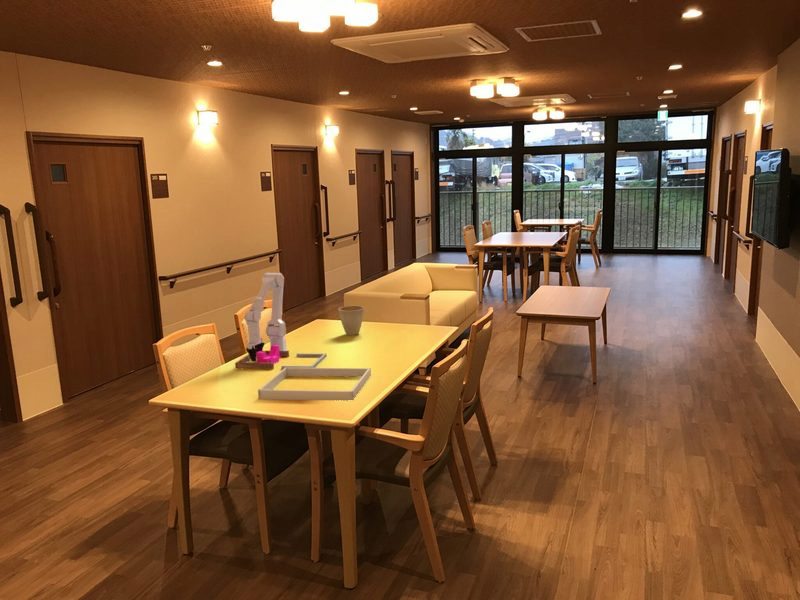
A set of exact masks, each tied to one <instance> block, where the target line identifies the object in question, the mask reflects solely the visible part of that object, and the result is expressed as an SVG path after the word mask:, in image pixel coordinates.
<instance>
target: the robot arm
mask: <svg viewBox="0 0 800 600" xmlns="http://www.w3.org/2000/svg"><path fill="white" fill-rule="evenodd" d="M261 283H262V284H261V287H260V290H259V292H258V295H257V297H255V298H254V299H253V300H252V303H251V306H250V307H249V309H248V311H246V312H245V313H244V317H243V319H244V320H245V322H246V323H245V324H246V325H247V333H248V341H247V342H246V343H247V347H246V348H245V350H246V352H247V355H248V354H249V356H250V358H251V360H250V361H251V362H257V357H256V352H259V351H264V350H263V349H264V346H265V342H263V337H262V338H261V331H260V320H261V318H262V310H263V308H264V305H265V303H266V302H265V298H266V297H267V295H268V293H269V291H270V289H271V290H272V302H271V303H272V305H271V306H272V307H271V318H270V320H269V321H268V322H267V325H266V329H265V333H266V335H267V337H268V338H269V345H270V347H271V345H279V351H289V349H287V341H286V340H287V339H286V337H285V336H286V334H287V329H286V323H285V321H284V320H282V315H283V314H282V313H283V297H284V287H285V277H284V275H283V274H282V272H265V273H263V276H262V278H261Z"/></svg>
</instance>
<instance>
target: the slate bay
mask: <svg viewBox="0 0 800 600" xmlns="http://www.w3.org/2000/svg"><path fill="white" fill-rule="evenodd" d="M295 356H296V358H317V360H316V361H315V362H314V363H312V364H311V365H281V366H280V367H281V368H280V369H281V370H283V369H284V368H285V367H286V368H317V366H318V365H319V364H320V363H321V362H322V361H323V360H324V359H325V358H327V356H328V355H327V353H304V352H303V353H296V355H295Z"/></svg>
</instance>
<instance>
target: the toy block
mask: <svg viewBox="0 0 800 600" xmlns="http://www.w3.org/2000/svg"><path fill="white" fill-rule="evenodd" d="M265 351H266V350H262V351H259V352H256V355H257V357H256V363H273V364H274V363H275V364H277V363H279V362H280V359H281V358H280V354H279V345H271V346H270V349H269V351H270V352H269V354H268V356H267V355H266V352H265ZM279 358H280V359H279ZM278 361H279V362H278ZM276 362H277V363H276ZM275 364H274V365H275Z"/></svg>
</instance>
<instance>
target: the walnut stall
mask: <svg viewBox="0 0 800 600" xmlns="http://www.w3.org/2000/svg"><path fill="white" fill-rule="evenodd" d="M264 351H265V352H266V355H267V356H268V354H269V352H270V350H264ZM279 354H280V356H289V357H290V350H288V351H279ZM256 356H257V355H256ZM250 359H251V358H250V356H249V354H248V353H247V354H246V355H245V356H243V357H242V358H241V359H238V360H237V361H236V362H235V363H234V365H235V369H236V368H243V369H242V370H274V369H275V368H274V366H275V364H273V363H257V362H249V361H251V360H250ZM247 361H248V362H247ZM246 362H247V363H246Z"/></svg>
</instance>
